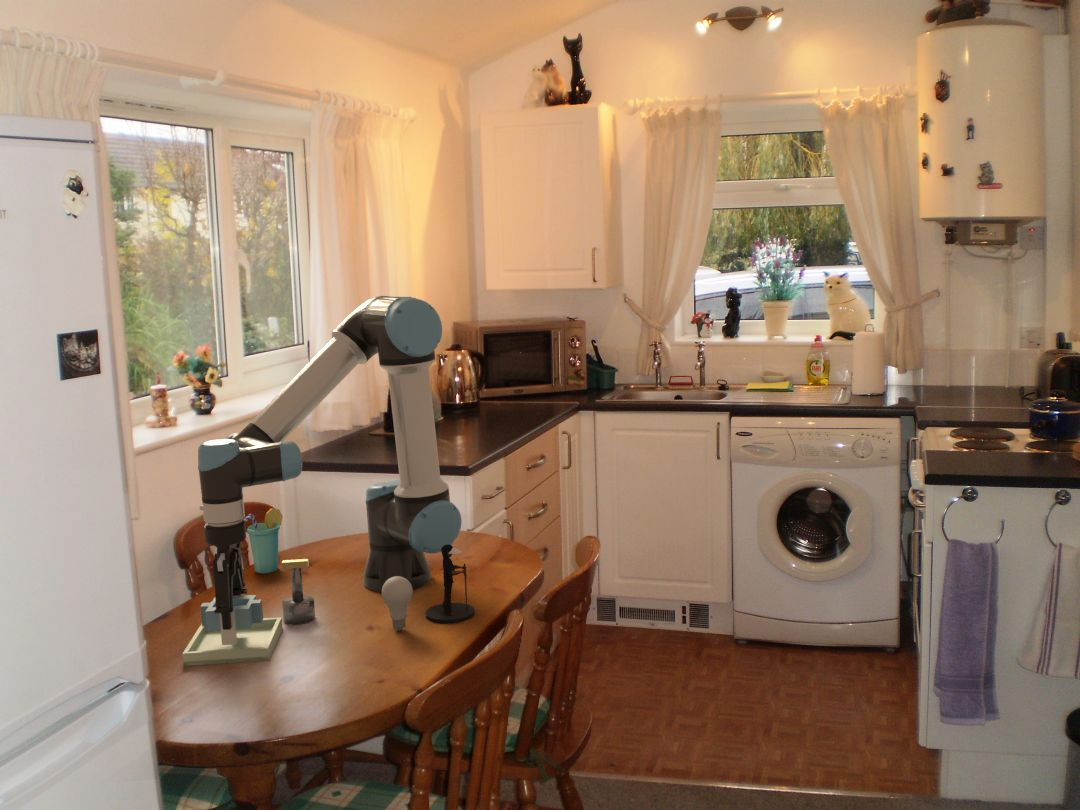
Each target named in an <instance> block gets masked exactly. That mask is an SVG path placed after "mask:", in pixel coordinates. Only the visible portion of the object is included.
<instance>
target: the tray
mask: <svg viewBox="0 0 1080 810" xmlns="http://www.w3.org/2000/svg"><path fill="white" fill-rule="evenodd" d="M282 631H283V617H282V616H280V617H265V618H264V617H263V621H262V623H253V624H252V626H251V628H250V629H241V630H236V633H237V644H234V645H222V639H221V631H209V632H207V626H202V623H201V624H200V626H199V627H198V629H197V630H196V632H194V633H195V634H194V635H193V636H192V638H191V639H190V641H189V642H188V644H187V646H186V647H185V649H184V650H183V652H182V654H181V656H182V665H183V667H188V666H203V665H205V666H206V665H217V664H220V665H221V664H232V663H233V664H235V663H238V664H239V663H250V662H251V663H252V662H263V661H264V662H266V661H267V662H268V661H270V658H271V656H272V653H273V652H274V649H275V647H276V645H277V643H278V641H279V638H280V636H281V633H282Z"/></svg>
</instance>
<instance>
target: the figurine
mask: <svg viewBox="0 0 1080 810" xmlns="http://www.w3.org/2000/svg"><path fill="white" fill-rule="evenodd" d="M440 553H441V556H442V570H443V574H442V575H443V587H444V588H443V591H444V593H443V601H442V603H440V604H435V605H432V606H431V607H428V608H427V609H426V611H425V620H427V621H428V622H430V623H434V624H439V625H440V624H441V625H453V624H460V623H465V622H467V621H469V620H471V619H473V618H474V616H475V615H476V612H475V608H474V606H472V605H470V604H468V588H467V587H468V586H467V578H468V577H467V576H468V575H467V568H468V567H467V565H466V563H464V564H463V566H459V565H456V564H454V562H453V561H452V559H451V557H452V556H453V554H454V555H459V554H462V551H461V550H459V549H458V548H456V547H454V546H453V544H452V545H449V544H448V545H444V546H443V547H442V549H441V552H440ZM459 569H461V571H460V570H459ZM461 574H463V576H464V577H463V578H464V591H465V594H464V595H465V603H464V602H463V603H462V602H452V590H453V584H454V583H455V582H454V577H453V576H457V575H461Z"/></svg>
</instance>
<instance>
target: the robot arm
mask: <svg viewBox="0 0 1080 810" xmlns="http://www.w3.org/2000/svg"><path fill="white" fill-rule="evenodd" d="M442 324H443V323H442V320H441V318H440V316H439V313H438V311H437V310H436V309H435V308H434V307H433V306H432V305H431V304H430V303H428V302H427V301H425V300H423V299H418V298H416V297H411V296H389V295H387V296H386V295H379V296H375V297H372V298H370V299H368V300H366V301H365V302H363V303H362V304H360V305H359V306H358V307H356V308H355V310H354V311H352V312H351V313H350V314H349V315H348V316H346V318H344V320H343V321H342V322H341V323H340V324H339V325H338V326H337V327H336V328H335V329H334V330H333V331H332V332H331V339H330V340H329V342H328V343H326V345H325V346H324V347H322V349H321V350H320V351H319V352H318V353H317V354H316V355H315V356H314V357H313V358H312V359H311V360H310V361H309V362H307V364H306V365H305V366H304V367H303V368H302V369H301V370H300V371H299V372H298V373H297V375H295V376H294V377H293V379H291V380H290V382H289V383H288V384H287V385H286V386H285V387H284V388H283V389H282V390H281V391H280V392H279V393H278V394H277V395H276V396H275V397H274V398H273V399H272V400H271V401H270V402H269V403H268V404H267V405H266V406H265V407H264V408H263V409H262V410H261V411H260V412H259V413H258V414H257V415H256V416H255V417H254V418H253V420H251V421H250V422H249V424H247V425H246V426H245V427H244V428H243V429H242V430H241V431H239V432H234V433H231V434H229V435H227V436H226V437H225V438H222V439H211V440H207V441H205V442H202V443H201V444H199V447H198V450H197V464H198V466H197V470H198V476H199V484H200V493H201V502H202V505H200V506H199V511H203V513H202V516H203V522H205V524H204V526H203V530H204V539H205V540H204V541H205V543H206V545H209V546H212V547H213V546H214V547H216V553H214V560H212V566H213V574H214V575H213V577H214V592H215V594H214V597H215V599H216V610H214V613H219V617H220V628H221V639H222V645H234V644H237V633H236V622H235V611H234V610H233V596H244V595H248V588H245V587H246V583H245V576H244V575H245V574H244V569H243V568H244V567H243V560H242V559H243V558H242V550H241V545H242V542H244V541H245V540H246V538H247V529H246V522H245V521H244V520H243V519H244V518H246V515H245V502H244V494H243V488H248V487H253V486H258V485H259V486H260V485H265V484H272V483H278V482H285V481H289V480H293V479H296V478H298V477H299V476H300V475H301V473H302V471H303V464H304V463H303V455H302V452H301V449H300V447H299V446H298V444H297V443H296V442H295V441H292V440H288V441H285V440H286V439H287V438H288V437H289V436H290V435H291V434H292V433H293V432H294V431H295V430H296V428H298V426H299V425H301V423H302V422H303V421H305V419H306V418H307V417H308V416H309V415H310V414H311V413H312V412H313V411H314V410H315V409H316V408H317V407H318V406H320V403H322V402H323V401H324V400H325V399H326V397H328V395H330V394H331V393H332V391H333V390H334V389H335V388H336V387H337V386H338V385H339V384H340V383H341V382H342V381H343V380H344V379H345V378H346V377H347V376H348V375H349V374H350V373H351V372H352V371H353V370H354V369H355V368H356V367H357V366H358V365H365V364H367V362H368V361H369V360H370V359H372V357H374V356H375V355H378V361H379V362H378V363H379V366H380V367H381V368H382V369H383V370H385V371H386V373H387V377H388V385H389V395H390V396H389V397H390V405H391V414H392V421H393V431H394V438H395V439H394V440H395V449H396V459H397V466H398V475H399V479H396V480H388V481H381V482H378V483H374V484H371V485H369V486H368V487H367V489H366V493H365V505H366V518H367V531H368V532H367V533H368V543H369V546H368V547H369V552H368V556H367V559H366V563H365V567H364V570H363V575H362V577H363V586H364V587H365V588H367V589H369V590H372V591H377V592H382V587H383V585H384V583H385V582H386V581H387V580H388V579H390V578H392V577H395V576H400V577H404V578H405V579H407V580H408V581H409V582H410V583H411V585H412V588H413V590H416V589H419V588H421V587H424V586H426V585H428V584H429V583H430V582H431V581H432V571H431V567H430V566H429V565H430V564H429V562H428V560H427V557H426V554H439V553H442V552H441V549H442V547H443V546H444V545H448V544H449V545H452V546H453V544H454V542H455V540H456V539H457V538H458V537H459V535H460V532H461V529H462V521H463V519H462V515H461V511H460V510H459V508H458V507H457V506H456V505H455V504H454V503H453V502H452V501H451V498H450V490H449V489H450V487H449V484H448V483H447V482H445V481H444V480H443V479H442V477H441V472H440V471H441V469H440V463H439V462H440V461H439V460H440V459H439V451H438V443H437V433H436V422H435V414H434V405H433V393H432V386H431V383H432V382H431V375H430V368H431V366H433V364H434V363H435V361H436V353H435V351H436V349H437V347H438V345H439V343H440V342H441V340H442V336H443V325H442ZM425 553H426V554H425Z"/></svg>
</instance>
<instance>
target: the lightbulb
mask: <svg viewBox="0 0 1080 810" xmlns="http://www.w3.org/2000/svg"><path fill="white" fill-rule="evenodd" d="M413 593H414V589H413V588H412V585H411V583H410V582H409V581H408V580H407V579H405V578H404V577H400V576H395V577H392V578H390V579H388V580H387V581H386V582H385V583H384V585H383V587H382V591H381V598H382V600H383V601H384V603H385V604H386V606H387V608H388V610H389V613H390V618H391V621H392V628H393V629H394V630H396V631H402V630H403V629H405V628H406V624H407V623H406V622H407V621H406V620H407V616H408V614H407V613H408V606H409V605H410V602H411V600H412V598H413Z"/></svg>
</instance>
